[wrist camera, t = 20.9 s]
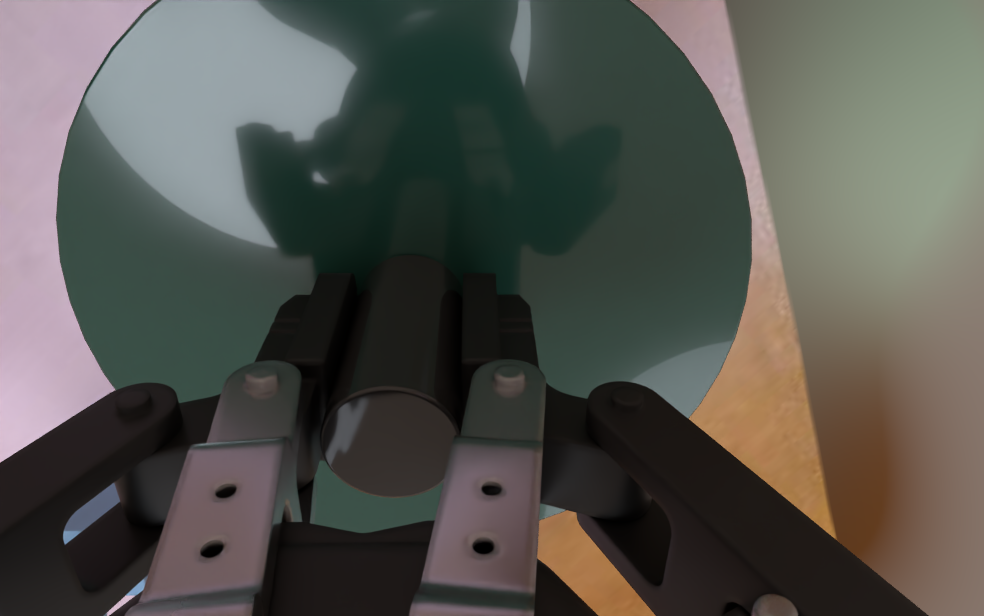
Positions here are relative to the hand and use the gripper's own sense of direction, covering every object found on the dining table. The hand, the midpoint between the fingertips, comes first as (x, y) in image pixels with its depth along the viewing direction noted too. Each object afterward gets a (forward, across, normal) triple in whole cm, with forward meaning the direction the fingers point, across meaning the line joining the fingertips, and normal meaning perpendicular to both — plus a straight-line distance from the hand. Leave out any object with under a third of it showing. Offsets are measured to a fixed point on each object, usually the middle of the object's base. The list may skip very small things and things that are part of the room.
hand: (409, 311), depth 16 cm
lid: (+1, 0, 0) cm, 1 cm away
